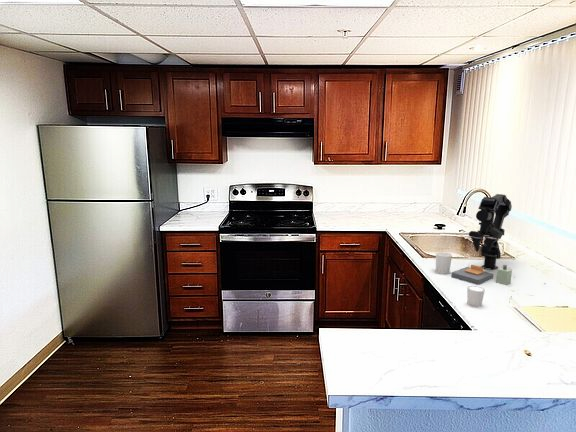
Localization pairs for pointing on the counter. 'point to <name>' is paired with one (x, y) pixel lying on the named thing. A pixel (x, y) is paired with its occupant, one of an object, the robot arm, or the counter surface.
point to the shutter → (475, 270)
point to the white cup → (443, 262)
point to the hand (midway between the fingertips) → (482, 251)
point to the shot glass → (475, 295)
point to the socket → (472, 276)
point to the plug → (504, 275)
